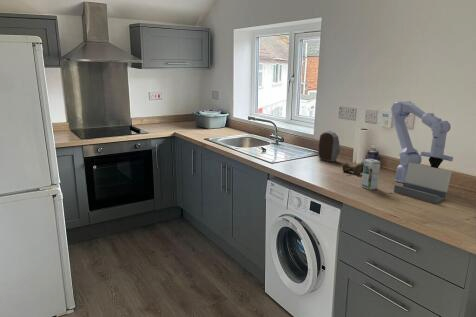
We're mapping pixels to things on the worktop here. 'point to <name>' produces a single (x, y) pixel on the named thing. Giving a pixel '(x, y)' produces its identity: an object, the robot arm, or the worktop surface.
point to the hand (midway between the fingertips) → (433, 172)
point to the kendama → (353, 168)
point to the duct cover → (428, 176)
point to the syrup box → (370, 174)
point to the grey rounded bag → (328, 146)
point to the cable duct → (420, 192)
